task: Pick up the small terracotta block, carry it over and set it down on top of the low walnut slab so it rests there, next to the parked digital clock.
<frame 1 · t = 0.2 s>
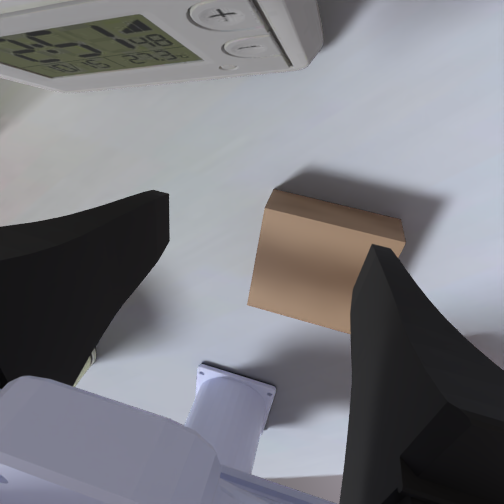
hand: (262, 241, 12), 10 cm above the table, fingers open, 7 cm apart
digital clock: (172, 20, 18), on the table
walnut slab: (320, 251, 24), on the table
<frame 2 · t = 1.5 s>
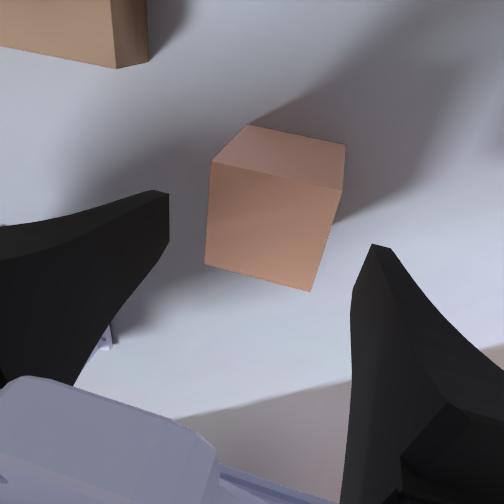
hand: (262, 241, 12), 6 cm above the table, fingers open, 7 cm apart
terracotta block: (286, 180, 17), on the table
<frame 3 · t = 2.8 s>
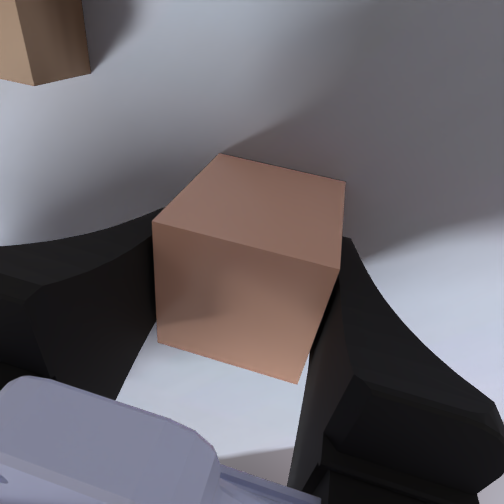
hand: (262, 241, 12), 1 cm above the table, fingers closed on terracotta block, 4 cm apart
terracotta block: (270, 222, 13), on the table, touching gripper
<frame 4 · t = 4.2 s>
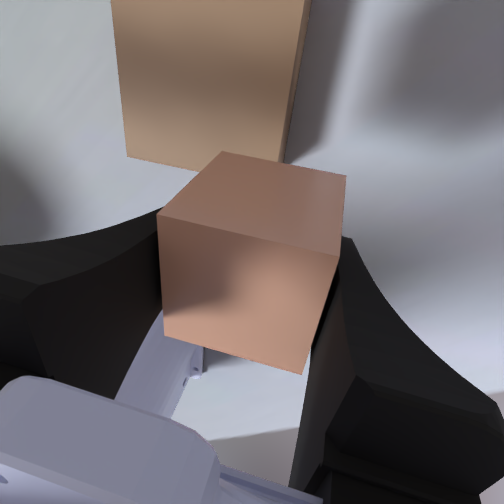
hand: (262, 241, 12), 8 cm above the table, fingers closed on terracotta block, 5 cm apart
walnut slab: (220, 78, 18), on the table
terracotta block: (273, 217, 13), point 7 cm above the table, touching gripper
when the fingers open (5 cm above the table, at t = 5.9 s): terracotta block drops 1 cm, resting on walnut slab.
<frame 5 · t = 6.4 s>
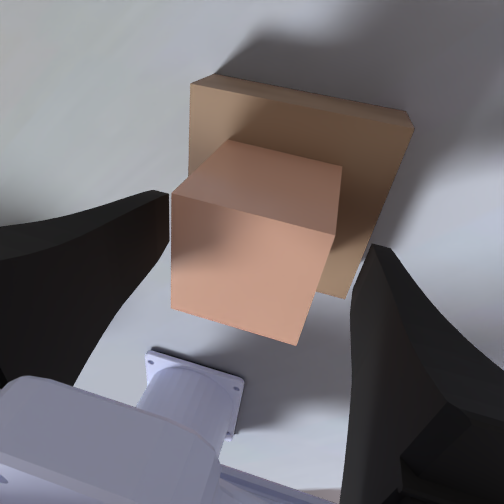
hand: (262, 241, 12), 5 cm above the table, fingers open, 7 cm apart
walnut slab: (289, 178, 17), on the table, touching terracotta block
terracotta block: (273, 204, 14), point 3 cm above the table, touching walnut slab
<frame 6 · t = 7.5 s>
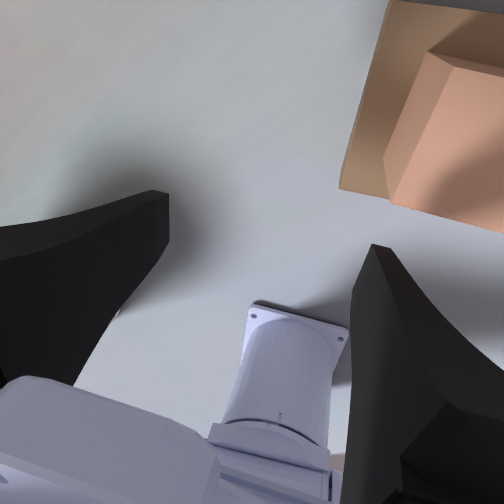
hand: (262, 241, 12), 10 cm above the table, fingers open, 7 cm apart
walnut slab: (440, 109, 17), on the table, touching terracotta block
terracotta block: (454, 121, 15), point 3 cm above the table, touching walnut slab
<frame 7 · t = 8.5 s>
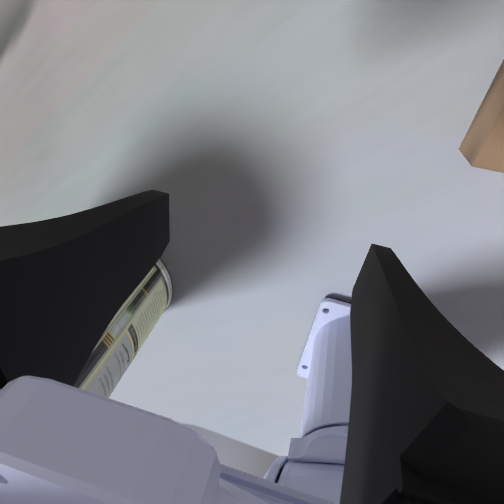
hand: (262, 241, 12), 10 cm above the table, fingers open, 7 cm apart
coffee can: (120, 274, 30), on the table
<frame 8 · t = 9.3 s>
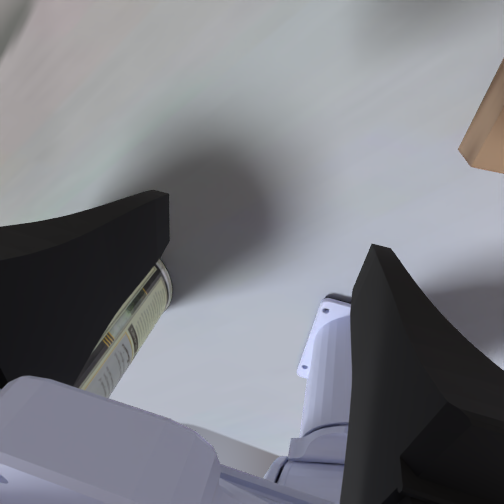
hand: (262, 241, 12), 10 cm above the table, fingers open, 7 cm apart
coffee can: (120, 274, 30), on the table
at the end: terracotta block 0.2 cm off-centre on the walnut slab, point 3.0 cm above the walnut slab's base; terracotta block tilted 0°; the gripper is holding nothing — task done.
